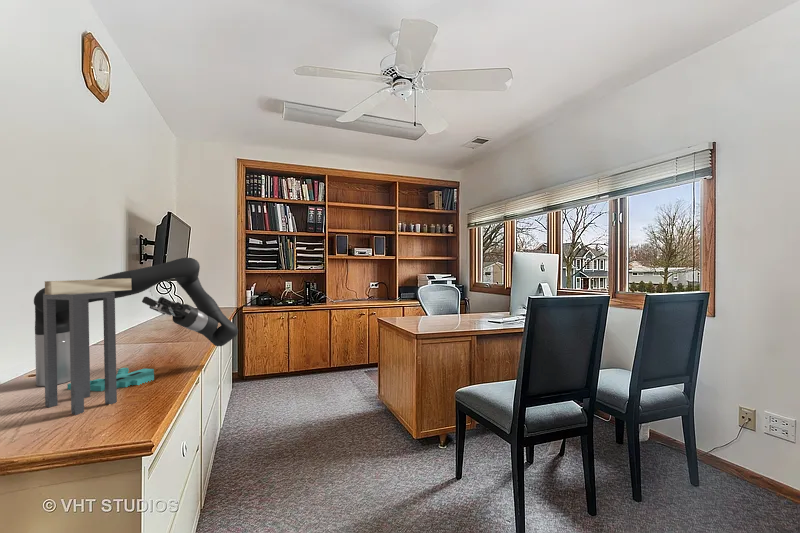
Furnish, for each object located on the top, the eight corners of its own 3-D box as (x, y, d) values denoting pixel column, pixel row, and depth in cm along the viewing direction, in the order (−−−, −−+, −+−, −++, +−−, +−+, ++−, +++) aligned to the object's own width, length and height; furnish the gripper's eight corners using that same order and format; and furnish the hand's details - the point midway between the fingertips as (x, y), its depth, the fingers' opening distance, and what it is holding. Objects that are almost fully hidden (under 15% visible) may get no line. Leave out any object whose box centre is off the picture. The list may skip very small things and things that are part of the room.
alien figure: (67, 390, 123) (118, 394, 119) (67, 384, 123) (118, 386, 119) (123, 373, 143) (169, 375, 139) (123, 367, 143) (169, 369, 139)
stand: (45, 406, 108) (43, 293, 108) (86, 395, 117) (84, 291, 117) (75, 415, 101) (72, 294, 101) (116, 402, 110) (114, 291, 110)
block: (44, 294, 103) (44, 281, 103) (124, 289, 121) (124, 278, 121) (51, 294, 102) (51, 281, 102) (131, 289, 120) (131, 278, 120)
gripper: (182, 308, 144) (144, 289, 132) (208, 309, 138) (170, 289, 126) (173, 326, 141) (132, 308, 128) (199, 328, 135) (159, 310, 122)
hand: (151, 299), depth 127 cm, fingers open, 8 cm apart
